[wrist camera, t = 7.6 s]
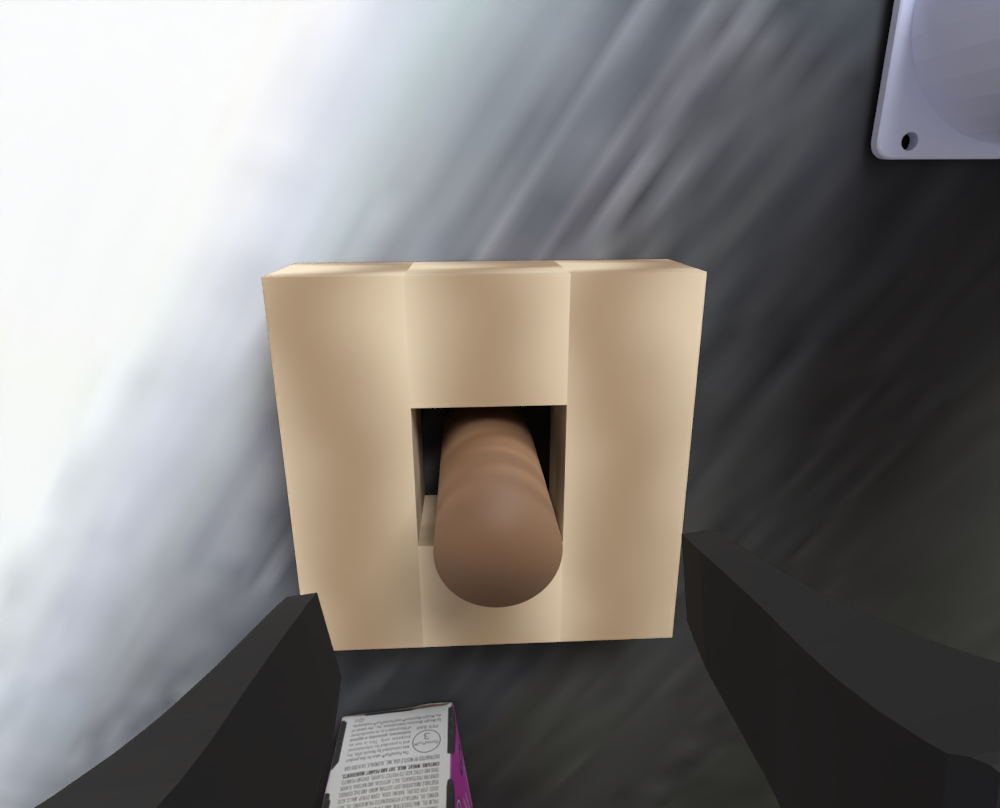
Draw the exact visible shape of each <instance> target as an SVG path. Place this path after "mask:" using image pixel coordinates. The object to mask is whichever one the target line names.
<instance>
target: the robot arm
mask: <svg viewBox="0 0 1000 808" xmlns="http://www.w3.org/2000/svg"><path fill="white" fill-rule="evenodd" d="M905 134H907V135H908V136H909V138H910V143H909V145H908V147H907V148H906V149H905V150H904V149H903V147H902V146H901V141H902V138H903V136H904V135H905ZM871 150H872V152H873V154H874V155H875V156H876V157H877V158H879V159H884V160H888V159H1000V0H894V6H893V12H892V18H891V24H890V30H889V36H888V42H887V48H886V54H885V60H884V67H883V73H882V79H881V85H880V91H879V97H878V103H877V109H876V115H875V121H874V127H873V133H872V139H871ZM682 548H683V563H684V578H685V593H686V608H687V622H688V624H689V627H690V630H691V632H692V635H693V637H694V640H695V642H696V645H697V648H698V650H699V652H700V655H701V657H702V660H703V662H704V665H705V667H706V669H707V671H708V673H709V675H710V677H711V679H712V680H713V682H714V684H715V686H716V688H717V690H718V691H719V693H720V695H721V697H722V699H723V701H724V702H725V704H726V706H727V708H728V710H729V711H730V713H731V715H732V717H733V719H734V720H735V722H736V724H737V726H738V728H739V729H740V731H741V733H742V735H743V737H744V738H745V740H746V742H747V744H748V746H749V747H750V749H751V751H752V753H753V755H754V756H755V758H756V760H757V762H758V764H759V765H760V767H761V769H762V771H763V773H764V775H765V777H766V778H767V780H768V782H769V784H770V786H771V788H772V790H773V792H774V794H775V796H776V798H777V801H778V803H779V805H780V807H781V808H1000V663H999V662H995V661H992V660H989V659H985V658H982V657H979V656H975V655H972V654H969V653H966V652H963V651H960V650H957V649H954V648H951V647H948V646H945V645H942V644H939V643H937V642H934V641H931V640H928V639H925V638H922V637H920V636H917V635H914V634H912V633H909V632H906V631H904V630H901V629H899V628H896V627H894V626H892V625H889V624H887V623H885V622H882V621H880V620H877V619H875V618H873V617H870V616H868V615H866V614H863V613H861V612H859V611H857V610H855V609H853V608H850V607H848V606H846V605H844V604H842V603H840V602H838V601H836V600H834V599H832V598H830V597H828V596H826V595H824V594H822V593H820V592H819V591H817V590H815V589H813V588H811V587H809V586H807V585H805V584H804V583H802V582H800V581H798V580H796V579H795V578H793V577H791V576H789V575H787V574H786V573H784V572H782V571H781V570H779V569H777V568H775V567H774V566H772V565H770V564H769V563H767V562H765V561H764V560H762V559H761V558H759V557H757V556H756V555H754V554H752V553H751V552H749V551H748V550H746V549H744V548H743V547H741V546H739V545H738V544H736V543H735V542H733V541H731V540H730V539H728V538H726V537H725V536H723V535H722V534H720V533H718V532H716V531H714V530H713V529H712V530H706V531H700V532H693V533H687V534H682ZM340 683H341V674H340V671H339V667H338V664H337V660H336V657H335V653H334V650H333V646H332V643H331V639H330V636H329V632H328V629H327V625H326V622H325V618H324V615H323V611H322V608H321V604H320V601H319V597H318V594H317V593H310V594H304V595H298V596H292V597H286V598H285V599H284V600H283V601H282V602H281V603H279V604H278V605H277V606H276V607H275V608H274V609H273V610H272V611H271V612H270V613H269V614H268V615H267V616H266V617H265V618H264V619H263V620H262V621H261V622H260V623H259V624H258V625H257V626H256V627H255V628H254V629H253V630H252V631H251V632H250V633H249V634H248V635H247V636H246V637H245V638H244V639H243V640H242V641H241V642H240V643H239V644H238V645H237V646H236V647H235V648H234V649H233V650H232V651H231V652H230V653H229V654H228V655H227V656H226V657H225V658H224V659H223V660H222V661H221V662H220V663H219V664H218V665H217V666H216V667H215V668H214V669H213V670H212V671H210V672H209V673H208V674H207V675H206V676H205V677H204V678H203V679H202V680H201V681H199V682H198V683H197V684H196V685H195V686H194V687H193V688H192V689H191V690H190V691H189V692H187V693H186V694H185V695H184V696H183V697H182V698H181V699H180V700H179V701H178V702H177V703H175V704H174V705H173V706H172V707H171V708H170V709H169V710H167V711H166V712H165V713H164V714H163V715H162V716H160V717H159V718H158V719H157V720H156V721H154V722H153V723H152V724H151V725H150V726H148V727H147V728H146V729H145V730H143V731H142V732H141V733H139V734H138V735H137V736H136V737H134V738H133V739H132V740H131V741H129V742H128V743H127V744H125V745H124V746H123V747H122V748H120V749H119V750H118V751H116V752H115V753H114V754H112V755H111V756H110V757H108V758H107V759H105V760H104V761H103V762H101V763H100V764H98V765H97V766H95V767H94V768H92V769H91V770H90V771H88V772H87V773H85V774H84V775H82V776H81V777H80V778H78V779H77V780H75V781H74V782H72V783H71V784H69V785H68V786H67V787H65V788H64V789H62V790H61V791H59V792H58V793H57V794H55V795H54V796H52V797H51V798H49V799H47V800H46V801H44V802H43V803H41V804H40V805H38V806H36V807H35V808H313V807H314V803H315V799H316V796H317V792H318V788H319V784H320V781H321V777H322V773H323V770H324V766H325V762H326V758H327V755H328V751H329V747H330V743H331V739H332V735H333V731H334V727H335V721H336V714H337V707H338V699H339V691H340Z"/></svg>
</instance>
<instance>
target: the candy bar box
mask: <svg viewBox="0 0 1000 808" xmlns="http://www.w3.org/2000/svg"><path fill="white" fill-rule="evenodd" d="M321 808H473V805H472V800H471V795H470V790H469V784H468V779H467V774H466V769H465V763H464V758H463V753H462V748H461V743H460V737H459V732H458V727H457V722H456V716H455V710H454V705H453V704H452V703H451V702H448V703H429V704H422V705H418V706H414V707H409V708H402V709H396V710H389V711H379V712H370V713H363V714H357V715H350V716H344V717H343V718H342V719H341V723H340V728H339V733H338V737H337V742H336V747H335V751H334V755H333V759H332V764H331V768H330V772H329V776H328V781H327V785H326V789H325V794H324V798H323V802H322V807H321Z"/></svg>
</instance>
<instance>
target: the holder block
mask: <svg viewBox="0 0 1000 808" xmlns="http://www.w3.org/2000/svg"><path fill="white" fill-rule="evenodd" d="M706 275H707V272H705V271H702V270H699V269H696V268H693V267H690V266H687V265H684V264H681V263H678V262H675V261H672V260H669V259H641V260H553V261H464V262H376V263H295V264H292V265H290V266H287V267H285V268H283V269H280V270H278V271H276V272H273V273H271V274H268V275H266V276H264V277H261V279H262V287H263V295H264V303H265V311H266V319H267V328H268V336H269V344H270V352H271V360H272V368H273V377H274V385H275V393H276V401H277V409H278V417H279V425H280V434H281V442H282V450H283V458H284V466H285V474H286V483H287V491H288V499H289V507H290V515H291V523H292V532H293V540H294V548H295V556H296V564H297V572H298V581H299V589H300V595H304V594H310V593H317V594H318V597H319V601H320V604H321V608H322V611H323V615H324V618H325V622H326V625H327V629H328V632H329V636H330V639H331V643H332V646H333V650H334V651H337V650H363V649H388V648H414V647H439V646H465V645H490V644H515V643H541V642H566V641H592V640H617V639H642V638H668V637H672V633H673V622H674V612H675V601H676V591H677V580H678V570H679V559H680V549H681V538H682V528H683V517H684V507H685V496H686V486H687V475H688V465H689V454H690V444H691V433H692V423H693V412H694V402H695V391H696V381H697V370H698V360H699V349H700V339H701V328H702V317H703V307H704V296H705V286H706ZM539 405H551V423H550V472H549V492H548V493H549V496H550V500H551V503H552V506H553V510H554V513H555V517H556V520H557V523H558V527H559V530H560V534H561V537H562V543H563V554H562V560H561V564H560V567H559V569H558V571H557V573H556V575H555V577H554V578H553V580H552V581H551V582H550V584H549V585H548V586H547V587H546V588H545V589H544V590H543V591H542V592H540V593H539V594H538V595H536V596H535V597H533V598H531V599H529V600H528V601H525V602H523V603H520V604H517V605H513V606H508V607H499V608H492V607H484V606H478V605H475V604H472V603H469V602H467V601H465V600H463V599H461V598H460V597H458V596H457V595H455V594H454V593H453V592H451V591H450V590H449V589H448V588H447V586H446V585H445V584H444V583H443V581H442V580H441V578H440V576H439V574H438V572H437V570H436V567H435V563H434V556H433V548H434V536H435V524H436V511H437V499H438V495H425V487H424V466H423V445H422V424H421V408H448V407H494V406H539Z"/></svg>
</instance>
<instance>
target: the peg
mask: <svg viewBox="0 0 1000 808" xmlns="http://www.w3.org/2000/svg"><path fill="white" fill-rule="evenodd" d="M562 554H563V543H562V537H561V534H560V530H559V527H558V523H557V520H556V517H555V513H554V510H553V506H552V503H551V500H550V496H549V493H548V490H547V486H546V483H545V479H544V476H543V473H542V469H541V466H540V463H539V459H538V456H537V452H536V449H535V446H534V442H533V439H532V435H531V432H530V429H529V425H528V422H527V419H526V416H525V414H524V412H523V410H522V409H521V408H520V406H494V407H452V408H451V409H450V411H449V412H448V414H447V416H446V418H445V421H444V426H443V437H442V449H441V462H440V474H439V486H438V499H437V511H436V524H435V536H434V548H433V556H434V563H435V567H436V570H437V572H438V574H439V576H440V578H441V580H442V581H443V583H444V584H445V585H446V586H447V588H448V589H449V590H450V591H451V592H453V593H454V594H455V595H457V596H458V597H460V598H461V599H463V600H465V601H467V602H469V603H472V604H475V605H478V606H484V607H492V608H499V607H508V606H513V605H517V604H520V603H523V602H525V601H528V600H529V599H531V598H533V597H535V596H536V595H538V594H539V593H540V592H542V591H543V590H544V589H545V588H546V587H547V586H548V585H549V584H550V582H551V581H552V580H553V578H554V577H555V575H556V573H557V571H558V569H559V567H560V564H561V560H562Z"/></svg>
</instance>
